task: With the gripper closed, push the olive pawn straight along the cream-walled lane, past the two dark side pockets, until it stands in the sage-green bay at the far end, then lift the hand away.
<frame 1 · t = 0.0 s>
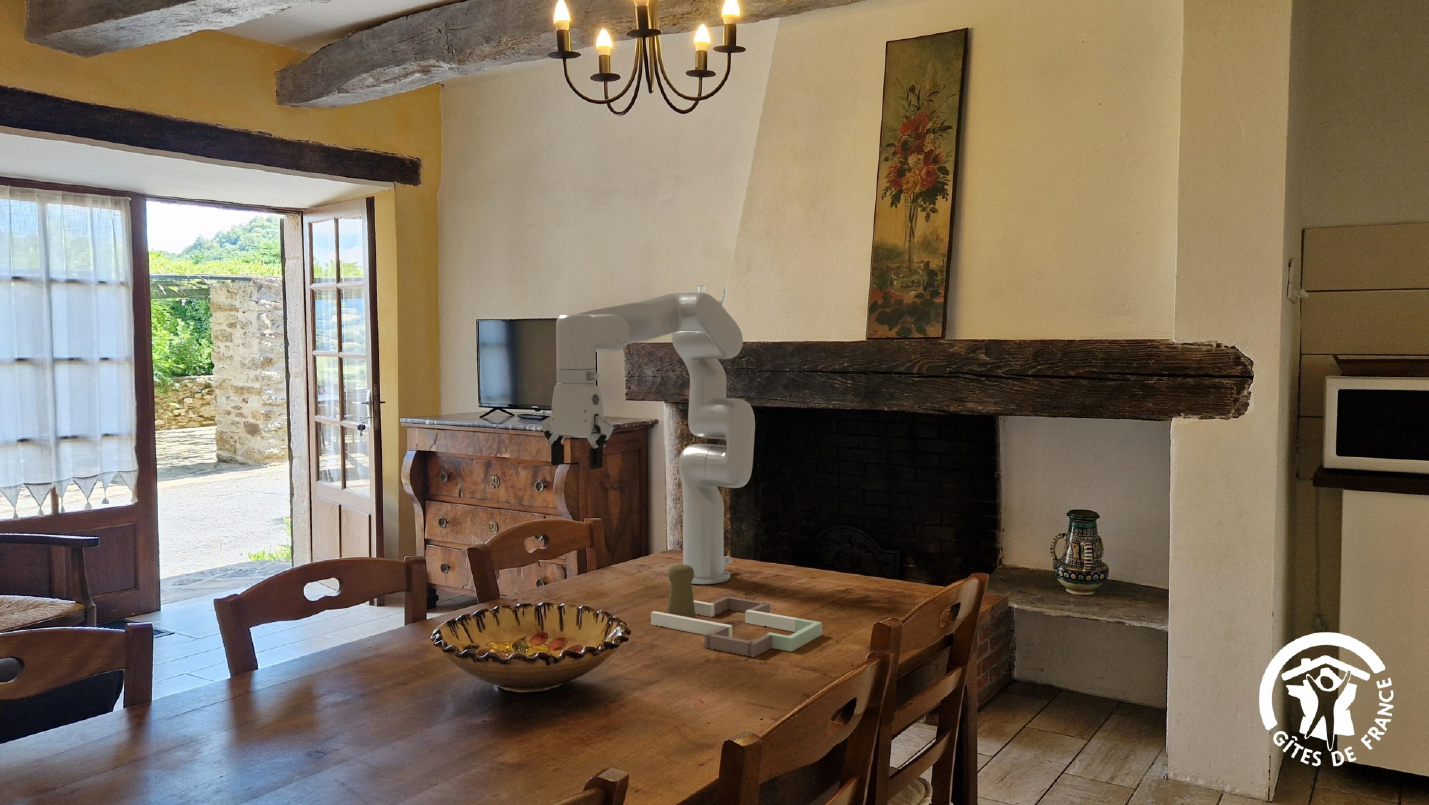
hand: (576, 466, 192), 31 cm above the table, tool pointing down, fingers open, 9 cm apart
olive pawn: (681, 620, 197), on the table
trap lane: (732, 629, 191), on the table
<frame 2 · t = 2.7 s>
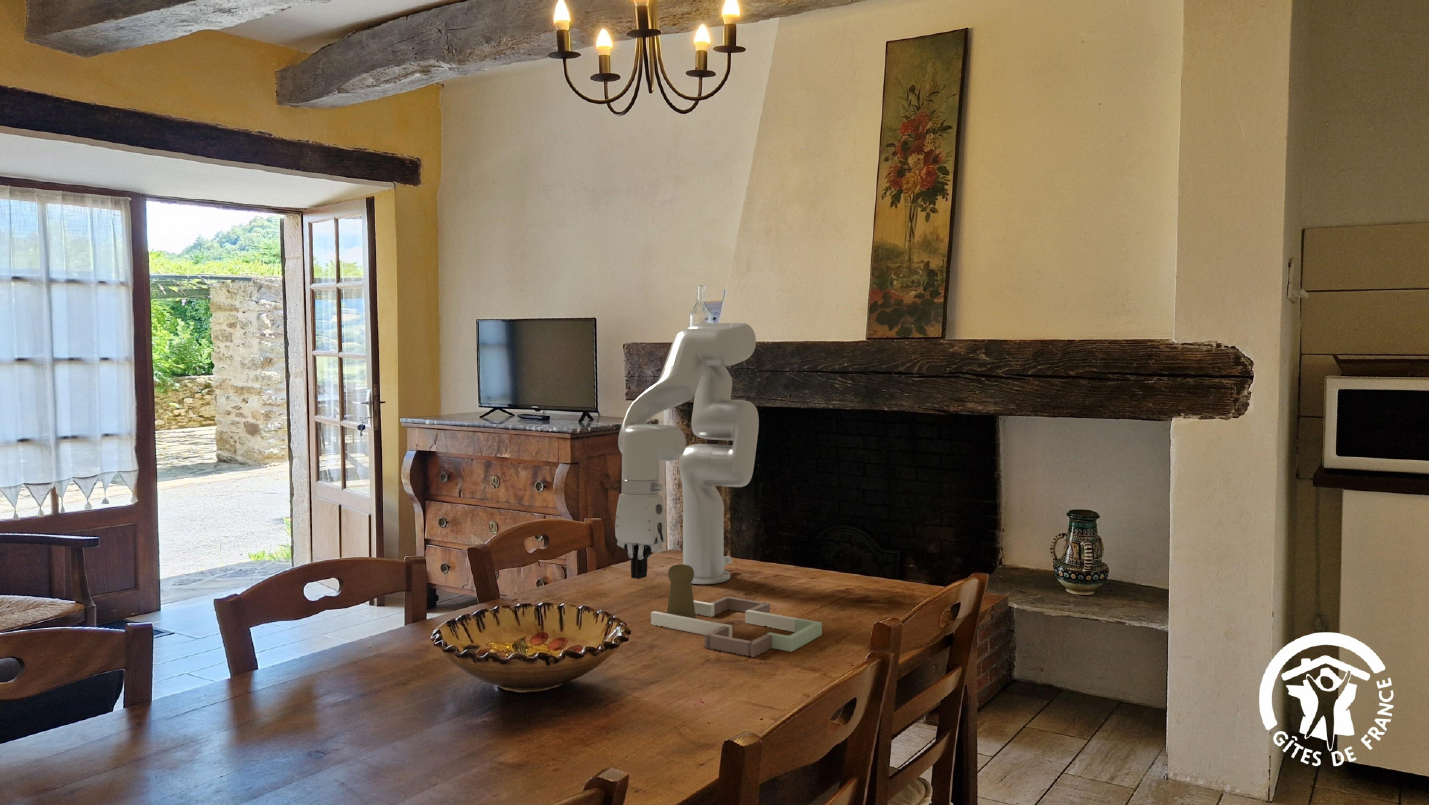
hand: (638, 577, 201), 7 cm above the table, tool pointing down, fingers closed
nothing on the table moved.
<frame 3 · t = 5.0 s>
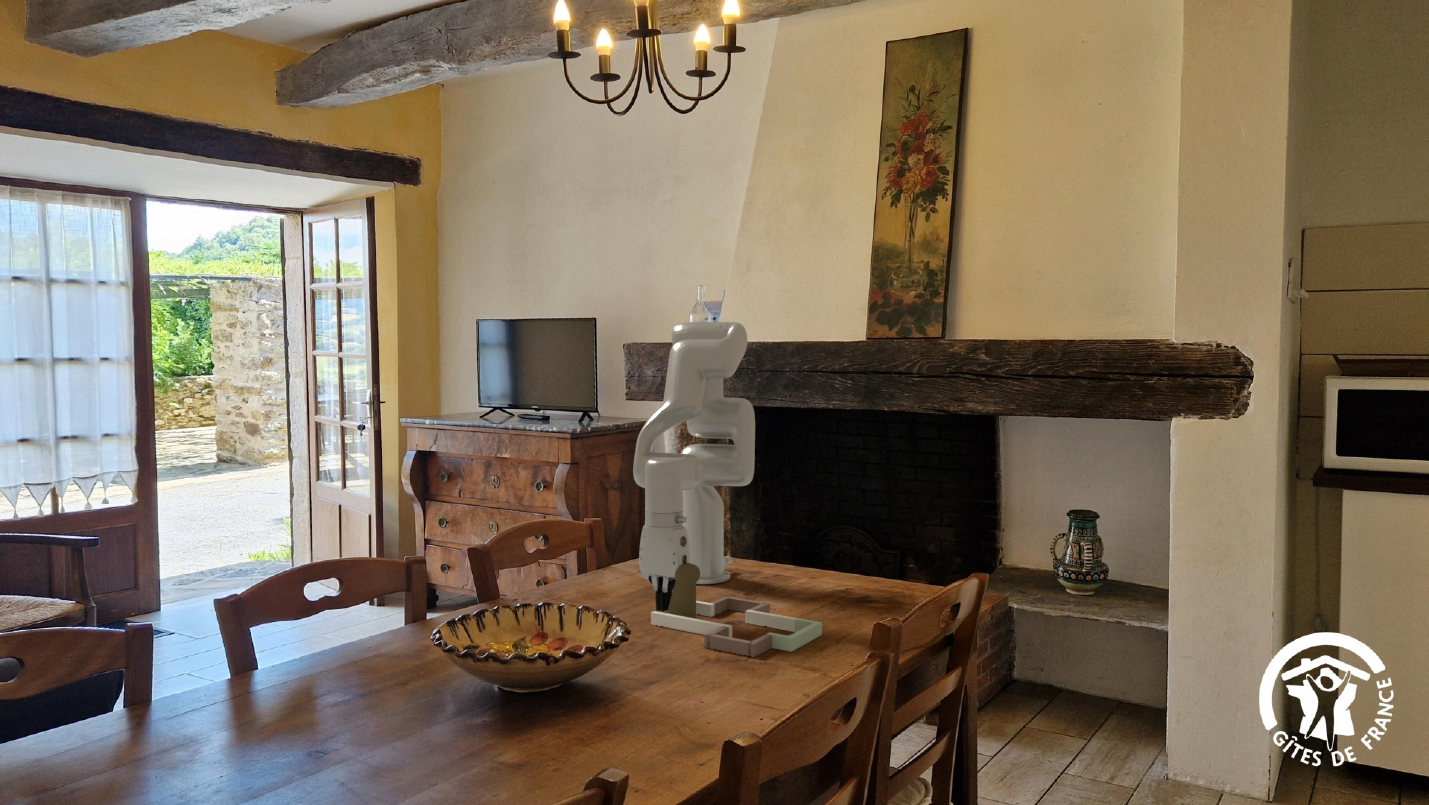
hand: (663, 609, 199), 1 cm above the table, tool pointing down, fingers closed
olive pawn: (681, 618, 197), on the table, touching gripper
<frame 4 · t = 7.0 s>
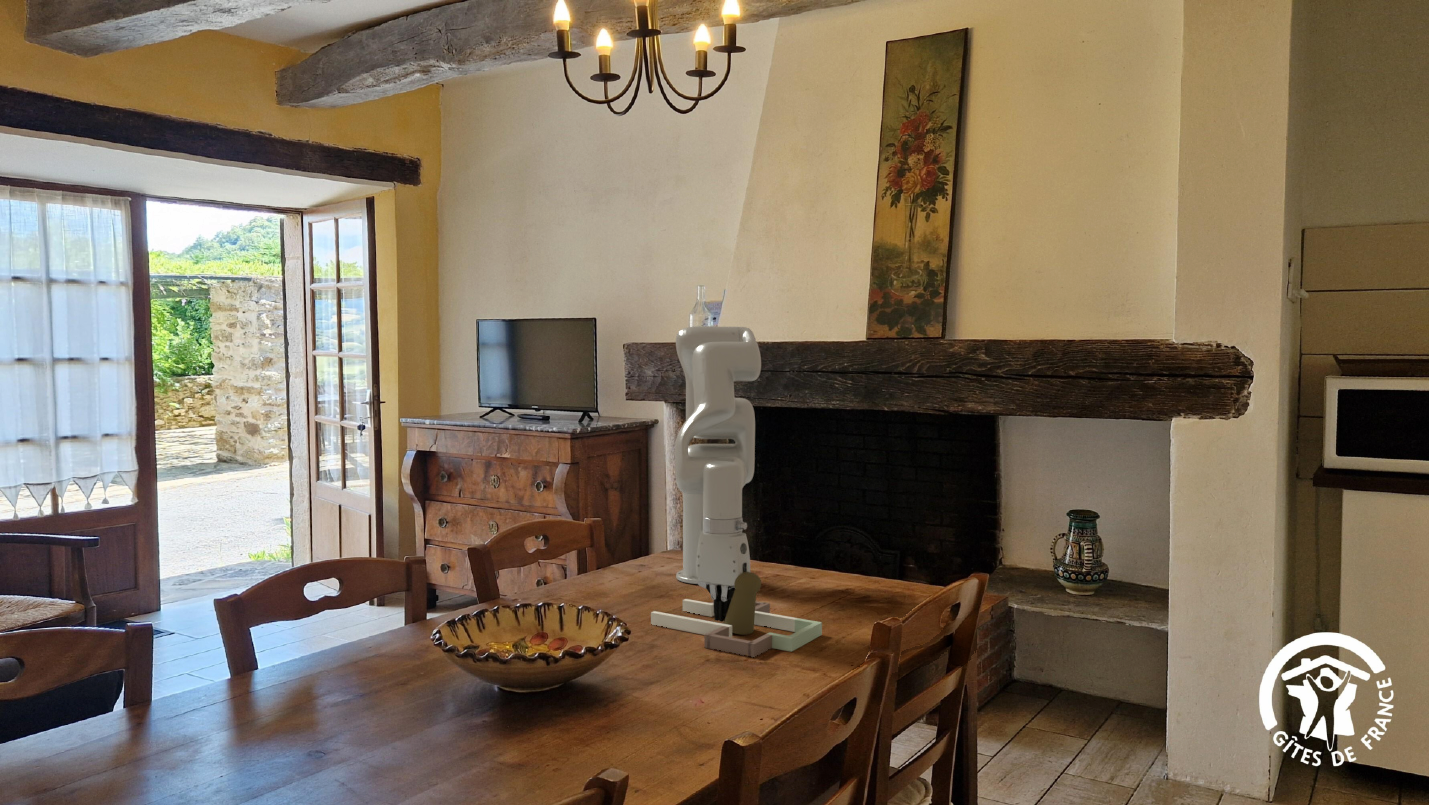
hand: (722, 619, 192), 2 cm above the table, tool pointing down, fingers closed
olive pawn: (738, 628, 190), on the table, touching gripper
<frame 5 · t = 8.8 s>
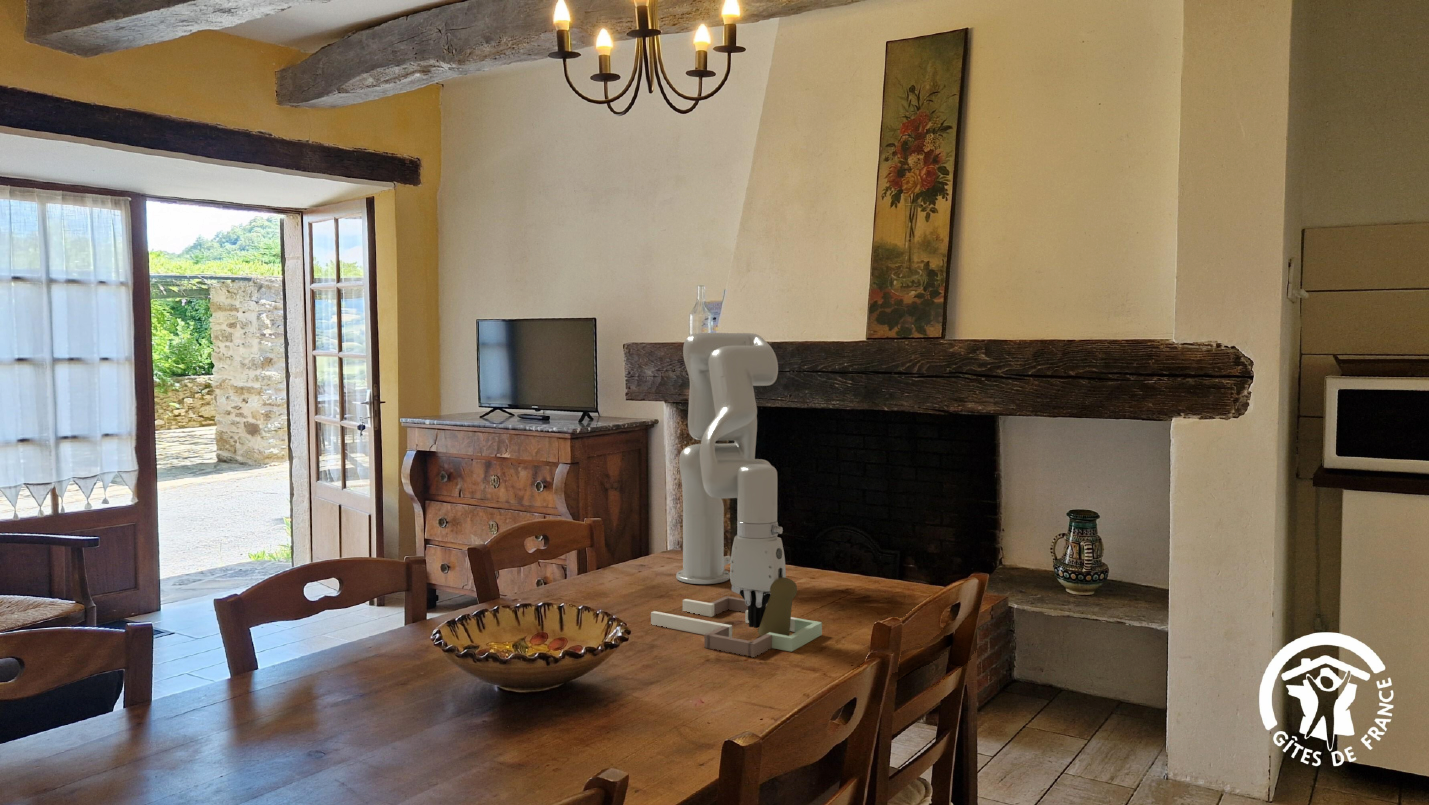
hand: (756, 625, 187), 2 cm above the table, tool pointing down, fingers closed
olive pawn: (773, 635, 185), on the table, touching gripper
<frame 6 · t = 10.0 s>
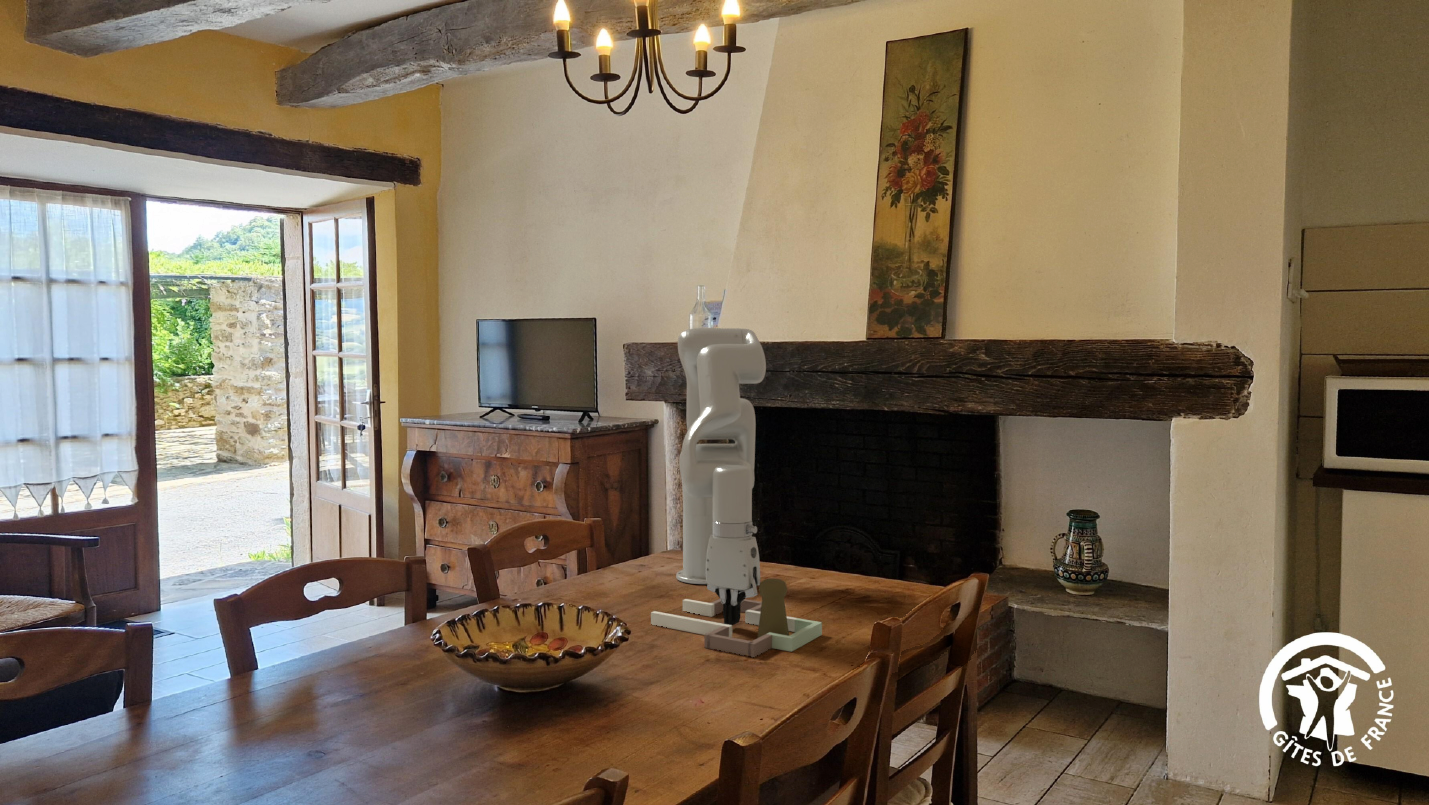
hand: (731, 623, 191), 1 cm above the table, tool pointing down, fingers closed
olive pawn: (773, 638, 185), on the table
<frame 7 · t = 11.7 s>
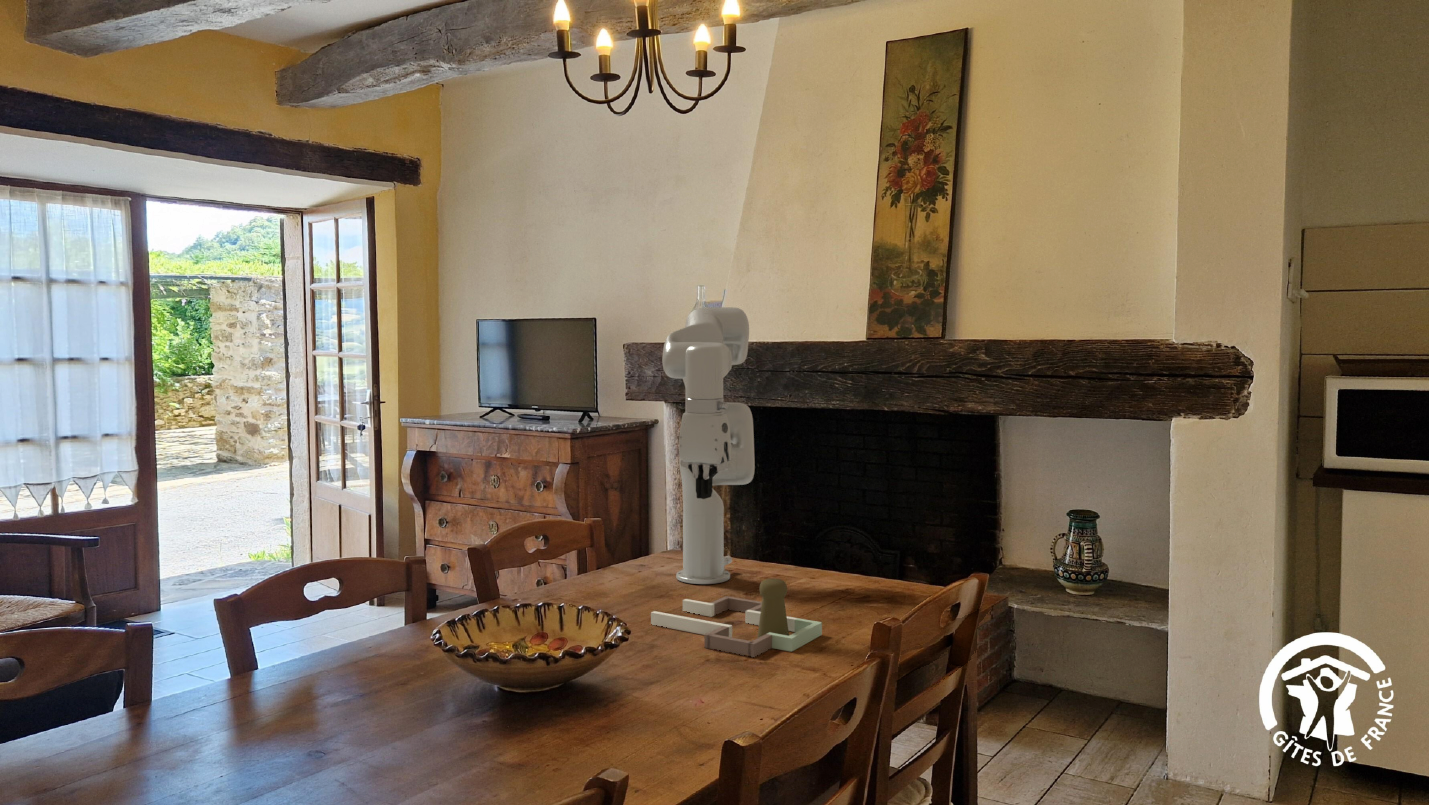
hand: (704, 497, 198), 24 cm above the table, tool pointing down, fingers closed
nothing on the table moved.
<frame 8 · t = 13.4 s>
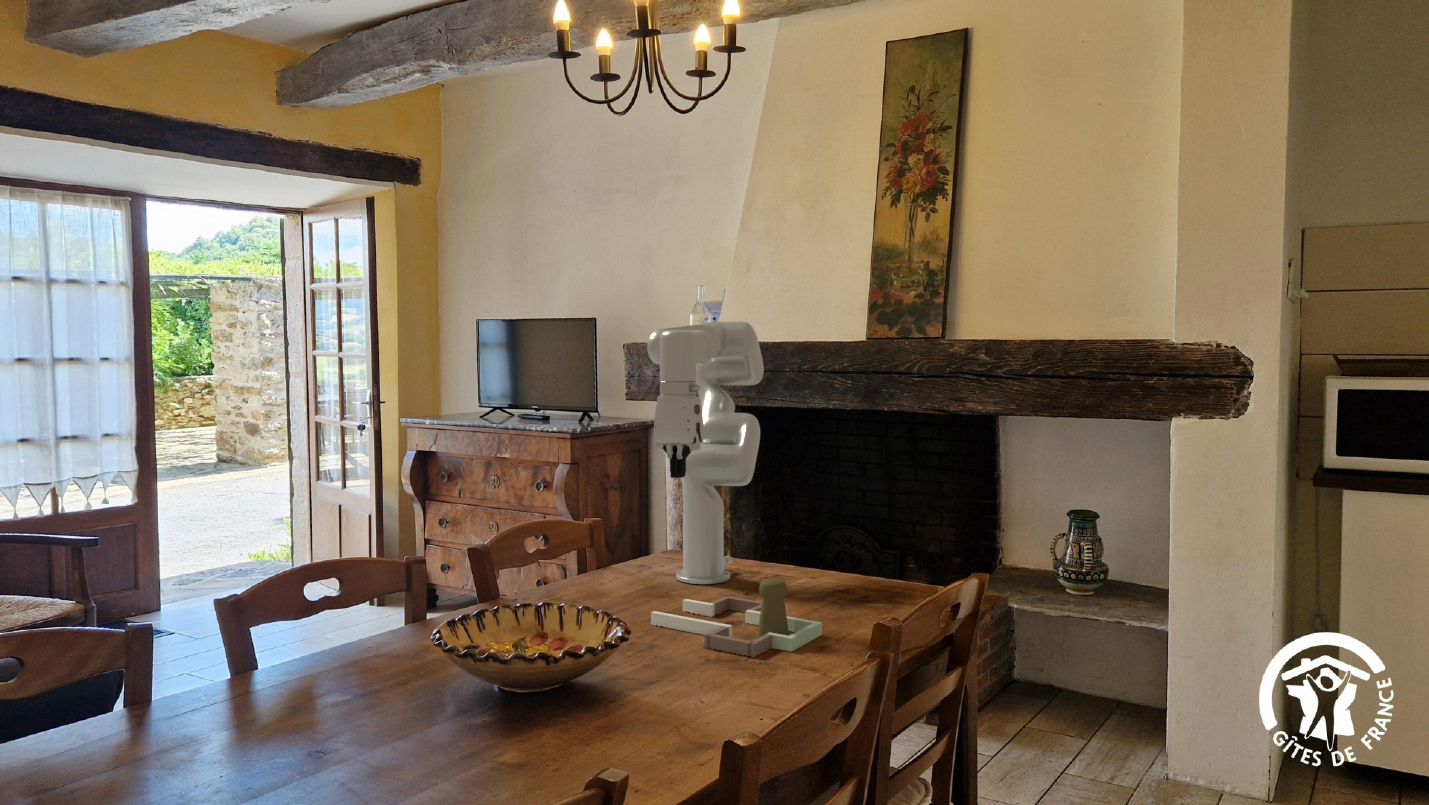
hand: (677, 477, 207), 27 cm above the table, tool pointing down, fingers closed
nothing on the table moved.
at the end: olive pawn inside the target area (1.3 cm from its centre), on the table; olive pawn tilted 1°; the gripper is holding nothing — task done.
